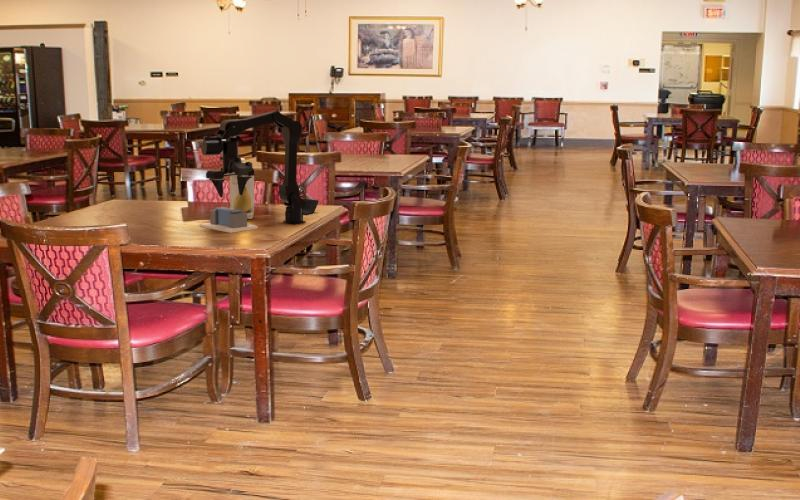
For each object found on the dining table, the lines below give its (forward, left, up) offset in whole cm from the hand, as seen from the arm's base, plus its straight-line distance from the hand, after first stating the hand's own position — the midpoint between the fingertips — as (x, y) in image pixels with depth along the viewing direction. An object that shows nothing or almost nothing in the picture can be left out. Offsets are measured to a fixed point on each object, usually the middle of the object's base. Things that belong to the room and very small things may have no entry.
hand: (231, 196), depth 329 cm
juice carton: (-17, -15, -12) cm, 25 cm away
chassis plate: (+1, -1, -12) cm, 12 cm away
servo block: (+1, 0, -11) cm, 11 cm away
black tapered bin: (-44, -9, -12) cm, 46 cm away
